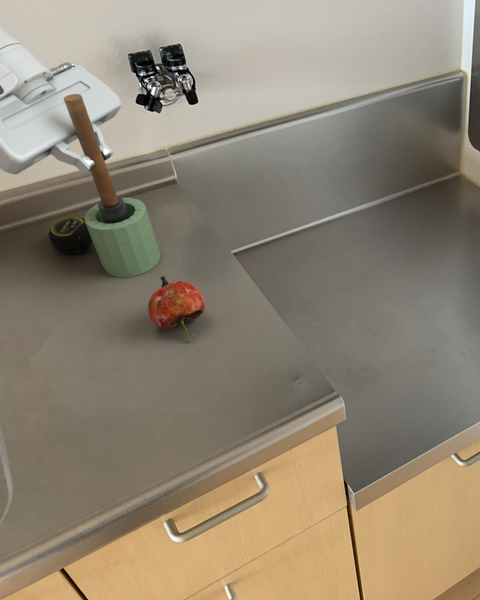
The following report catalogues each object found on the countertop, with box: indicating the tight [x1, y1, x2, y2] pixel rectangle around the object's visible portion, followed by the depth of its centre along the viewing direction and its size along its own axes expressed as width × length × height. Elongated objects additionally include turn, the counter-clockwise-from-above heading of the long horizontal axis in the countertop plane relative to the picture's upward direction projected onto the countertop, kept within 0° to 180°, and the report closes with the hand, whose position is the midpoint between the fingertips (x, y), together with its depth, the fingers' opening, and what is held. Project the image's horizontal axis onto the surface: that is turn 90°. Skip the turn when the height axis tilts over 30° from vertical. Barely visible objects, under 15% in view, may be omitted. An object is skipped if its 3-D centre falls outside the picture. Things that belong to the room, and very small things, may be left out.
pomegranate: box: [147, 275, 206, 343], centre depth 84 cm, size 7×7×10 cm
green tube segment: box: [84, 197, 161, 278], centre depth 95 cm, size 9×9×9 cm
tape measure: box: [48, 216, 93, 255], centre depth 99 cm, size 7×7×4 cm
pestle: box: [64, 94, 130, 224], centre depth 87 cm, size 4×4×22 cm
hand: (99, 163), depth 85 cm, fingers closed on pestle, 2 cm apart
